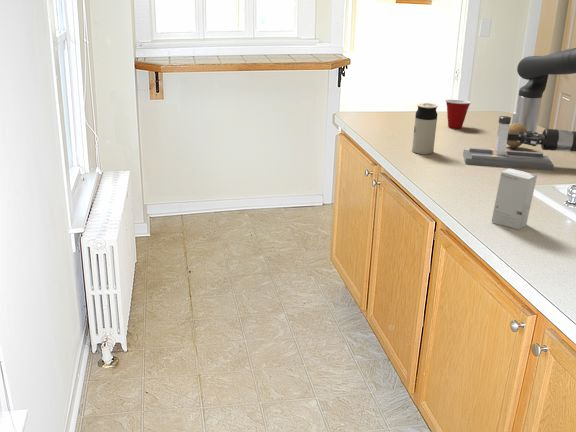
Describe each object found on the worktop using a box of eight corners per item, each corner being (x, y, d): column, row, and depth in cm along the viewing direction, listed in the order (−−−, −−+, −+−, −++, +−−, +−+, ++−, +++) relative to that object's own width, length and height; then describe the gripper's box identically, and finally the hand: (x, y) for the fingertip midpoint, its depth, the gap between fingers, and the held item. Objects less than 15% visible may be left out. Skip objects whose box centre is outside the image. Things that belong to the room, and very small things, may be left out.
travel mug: (435, 150, 253) (440, 104, 247) (430, 155, 246) (435, 107, 240) (414, 148, 256) (419, 101, 250) (409, 152, 249) (414, 105, 243)
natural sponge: (526, 152, 255) (531, 126, 251) (502, 150, 257) (506, 125, 253) (523, 146, 263) (527, 121, 260) (500, 144, 265) (504, 120, 261)
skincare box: (491, 222, 184) (498, 171, 179) (500, 217, 188) (507, 167, 183) (520, 230, 179) (529, 178, 174) (528, 224, 184) (537, 173, 178)
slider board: (546, 161, 244) (547, 152, 243) (552, 170, 233) (554, 161, 232) (463, 154, 249) (464, 146, 248) (465, 163, 238) (466, 154, 236)
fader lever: (505, 154, 243) (511, 115, 238) (507, 158, 237) (513, 119, 232) (491, 153, 244) (496, 114, 239) (493, 157, 238) (498, 118, 233)
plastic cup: (468, 126, 293) (472, 99, 289) (466, 131, 284) (470, 103, 280) (443, 123, 297) (446, 97, 292) (440, 128, 287) (444, 101, 283)
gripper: (555, 125, 240) (505, 122, 242) (562, 134, 228) (510, 130, 230) (551, 145, 243) (502, 142, 245) (559, 155, 230) (507, 151, 233)
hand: (506, 136), depth 238 cm, fingers closed
